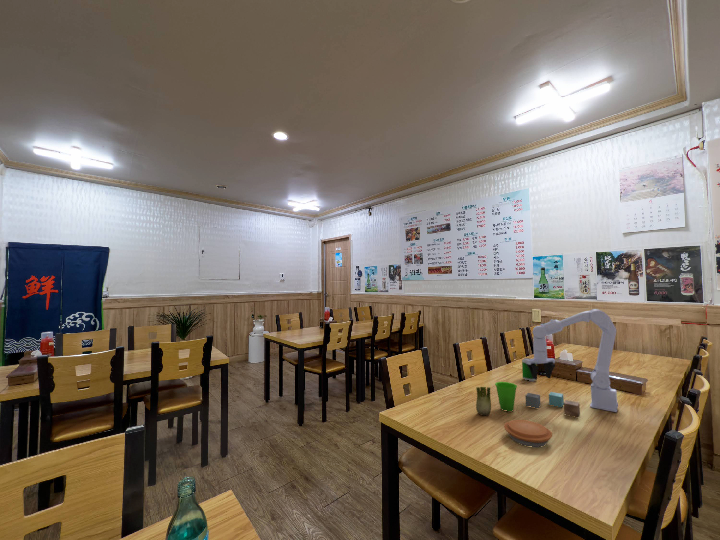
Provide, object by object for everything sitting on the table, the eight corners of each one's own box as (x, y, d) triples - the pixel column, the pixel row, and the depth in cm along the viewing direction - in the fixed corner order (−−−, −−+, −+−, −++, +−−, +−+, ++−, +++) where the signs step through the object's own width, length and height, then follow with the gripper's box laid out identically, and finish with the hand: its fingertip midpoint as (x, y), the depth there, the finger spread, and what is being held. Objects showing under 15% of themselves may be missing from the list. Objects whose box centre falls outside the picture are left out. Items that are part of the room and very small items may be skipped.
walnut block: (579, 414, 134) (579, 402, 135) (578, 418, 131) (577, 405, 131) (566, 411, 138) (565, 399, 138) (564, 415, 134) (563, 403, 134)
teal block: (563, 405, 145) (563, 394, 145) (562, 408, 141) (561, 397, 141) (551, 402, 148) (550, 391, 149) (549, 405, 144) (548, 394, 145)
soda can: (539, 381, 180) (538, 360, 180) (526, 382, 180) (525, 360, 181) (532, 378, 187) (532, 357, 188) (520, 378, 187) (519, 357, 188)
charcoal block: (540, 406, 144) (540, 395, 144) (538, 409, 140) (537, 397, 141) (528, 403, 147) (528, 392, 148) (525, 406, 144) (525, 395, 144)
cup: (495, 411, 138) (494, 386, 139) (496, 404, 146) (495, 380, 147) (517, 415, 134) (516, 389, 135) (518, 407, 142) (517, 383, 143)
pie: (510, 426, 124) (509, 413, 124) (556, 438, 114) (555, 424, 114) (499, 441, 112) (498, 427, 112) (549, 456, 102) (548, 440, 102)
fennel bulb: (491, 414, 136) (490, 386, 136) (490, 418, 132) (489, 389, 132) (477, 411, 139) (476, 384, 139) (475, 415, 134) (474, 387, 135)
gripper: (546, 348, 160) (548, 375, 159) (521, 349, 158) (522, 377, 157) (557, 350, 153) (559, 378, 153) (531, 352, 151) (533, 381, 150)
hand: (541, 378), depth 154 cm, fingers open, 7 cm apart
